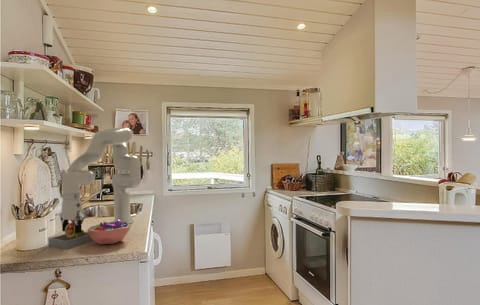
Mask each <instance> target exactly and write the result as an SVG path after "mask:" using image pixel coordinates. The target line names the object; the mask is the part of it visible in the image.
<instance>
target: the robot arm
mask: <svg viewBox="0 0 480 305" xmlns="http://www.w3.org/2000/svg"><path fill="white" fill-rule="evenodd" d="M132 138H133V133H132V130H131V129H130V128H128V127H110V128H106V129H104V130H99V131H96V132H95V133H94V134H93V136H92V138H91V140H90V143H89V145H88V147H87V149H86V151H84V152H83V153H82V154H80V156H78V157H77V158H76V159H74V160H73V161H72V163H71V164H70V165H69V168H68V169H67V171H65V172H63V173H62V176H61V177H62V179H61V180H62V181H61V183H62V184H61V186H62V190H61V192H62V202H61V212H60V213H59V214H58V215H59V218H60V221H61V227H62V228H61V229H62V230H61V231H62V232H64V233H65V227H66V226H67V225H68V224H69V223H70V222H69V221H71V220H72V221H74V222H75V224H76V225H75V233H80V232H82V230H83V229H82V227H83V226H82V224H83V222H84V220H85V215H84V209H83V203H82V199H81V186H88V185H89V186H90V185H92V184H93V183H94V182H95V181H96V175H95V173H94V172H93V171H91V170H83V169H84V168H85V167H86V166H89V165H91V164H93V163H95V162H98V161H100V160H102V158H103V156H104V154H105V151H106V150H107V147H108V146H111V148H112V153H113V154H112V156H113V167H114V169H115V170H116V171H122V172H116V173H115V174H113V176H112V178H111V185H112V188H113V189H112V190H113V216H114V217H113V218H114V219H113V220H112V221H111V222H117V219H120V220H121V221H122V222H126V223H130V224H132V223H134V220H133V218H136V216H137V215H136V213H133V214H132V213H131V193H130V190H129V189H136V188H139V187H140V186H141V180H142V179H141V178H142V174H141V162H140V159H139V157H138V156H136V155H130V154H129V153H128V152H129V150H128V146H127V144H126V143H128V142H129V141H131V140H132ZM123 171H125V172H123ZM77 220H78V222H77Z"/></svg>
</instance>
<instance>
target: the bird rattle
mask: <svg viewBox="0 0 480 305" xmlns="http://www.w3.org/2000/svg"><path fill="white" fill-rule="evenodd" d="M77 222H78V220H77ZM75 225H76V224H75V222H74V221H72V220H70V222H69V224H68V225H67V226H66V227H65V231H64V234H66V236H67V238H71V237H75V236H76V238H77V237H80V235H84V232H85V230H83V229H82V232H80V233H75Z"/></svg>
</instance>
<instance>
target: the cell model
mask: <svg viewBox="0 0 480 305" xmlns="http://www.w3.org/2000/svg"><path fill="white" fill-rule="evenodd" d="M131 228H132V223H126V222H122V221H121V220H120V219H117V222H112V221H110V222H107V221H104V222H100V223H99V224H96V225H93V226H90V227H88V229H87V232H88V233H89V235H90V237H91V238H92V239H93V241H94V242H96V243H97V244H99V245H113V244H117V243H119V242H122V241H123V240H125V238H126V237H127V235H128V233H129V231H130V229H131Z"/></svg>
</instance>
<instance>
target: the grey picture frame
mask: <svg viewBox="0 0 480 305" xmlns="http://www.w3.org/2000/svg"><path fill="white" fill-rule="evenodd" d="M93 241H94V240H93V239H92V238H91V237H90V235H89V233H88V231H84V235H80V237H77V238H76V236H75V237H71V238H67V236H66V234H65V233H63V234H59V235H57V236H53V237H49V238H48V242H47V243H48V247H53V248H59V249H63V250H69V249H72V248H74V247H77V246H81V245H83V244H86V243H89V242H93Z"/></svg>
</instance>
